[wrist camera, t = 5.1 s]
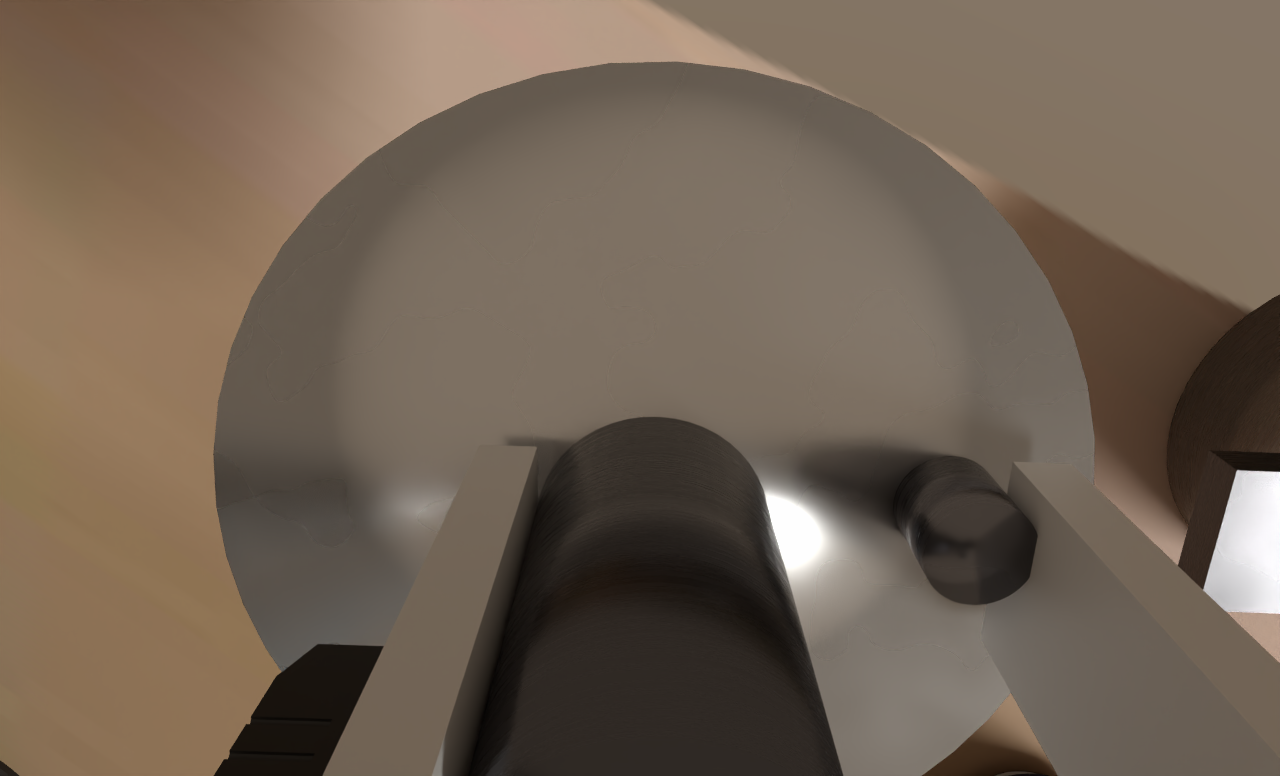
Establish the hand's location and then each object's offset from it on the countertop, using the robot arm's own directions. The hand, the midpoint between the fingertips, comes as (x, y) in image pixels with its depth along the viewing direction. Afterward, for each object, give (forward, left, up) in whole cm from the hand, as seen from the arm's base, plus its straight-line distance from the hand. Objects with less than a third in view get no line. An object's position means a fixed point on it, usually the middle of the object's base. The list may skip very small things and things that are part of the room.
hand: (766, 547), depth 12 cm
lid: (-2, 0, -1) cm, 2 cm away
